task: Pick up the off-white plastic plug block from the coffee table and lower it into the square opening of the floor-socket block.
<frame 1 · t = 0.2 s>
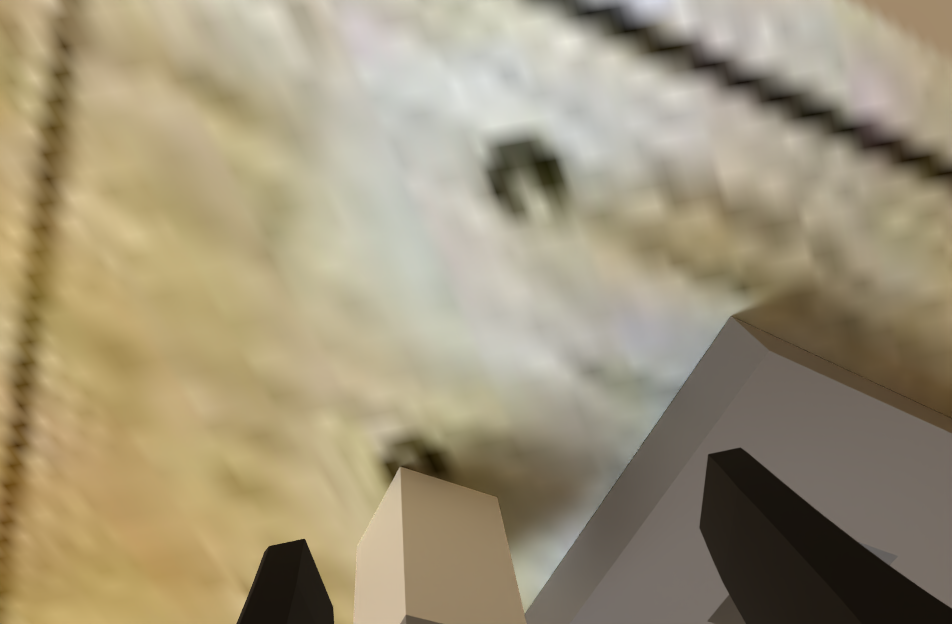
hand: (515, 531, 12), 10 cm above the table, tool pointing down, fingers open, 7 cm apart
plug: (427, 521, 25), on the table
socket block: (768, 541, 28), on the table
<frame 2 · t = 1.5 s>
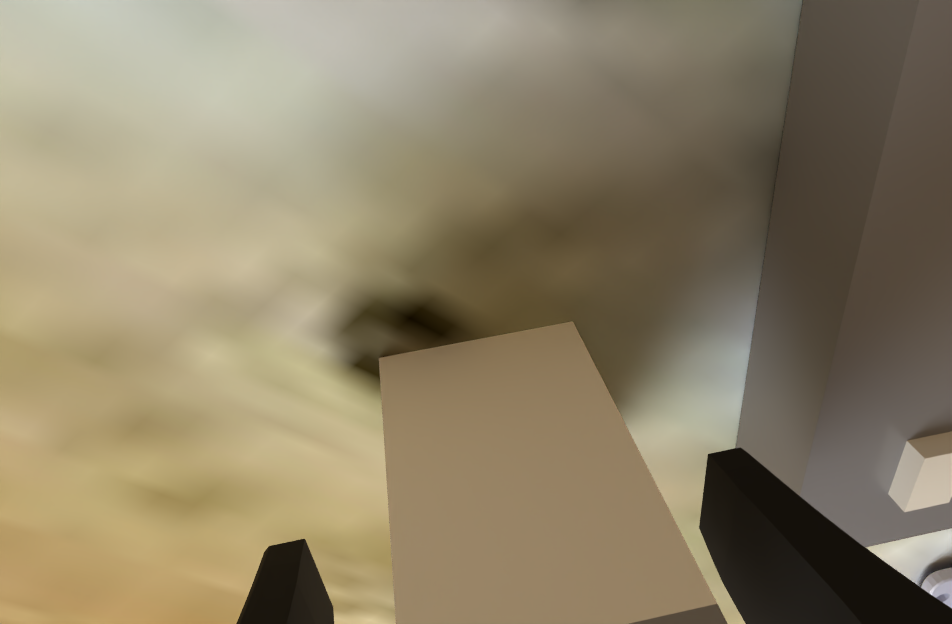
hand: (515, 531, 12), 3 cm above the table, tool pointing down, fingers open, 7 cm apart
plug: (487, 412, 14), on the table
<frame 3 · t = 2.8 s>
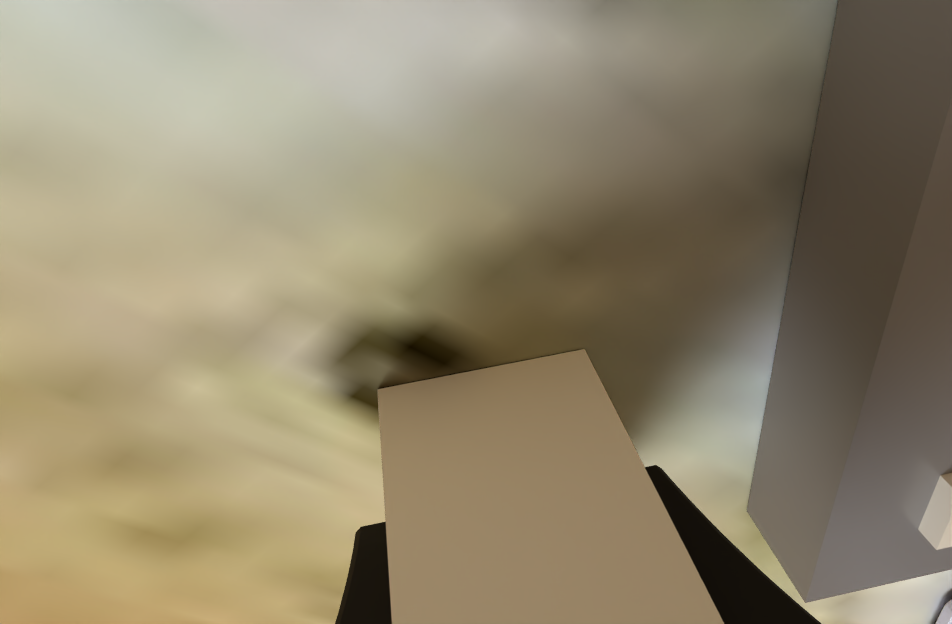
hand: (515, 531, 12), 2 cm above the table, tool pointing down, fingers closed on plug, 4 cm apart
plug: (492, 443, 14), on the table, touching gripper
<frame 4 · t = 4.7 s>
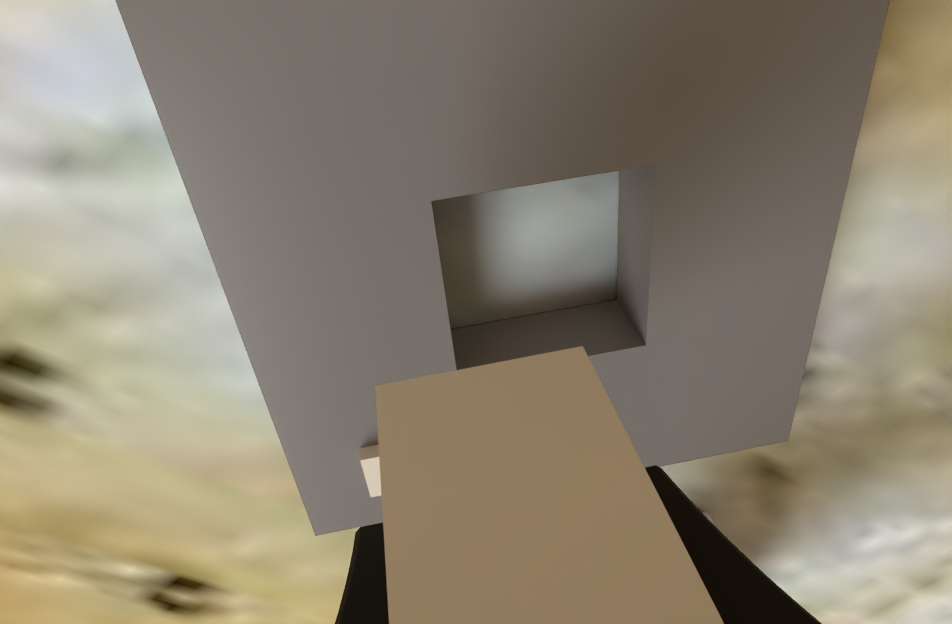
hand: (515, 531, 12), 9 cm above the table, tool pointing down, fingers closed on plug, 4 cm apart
plug: (490, 441, 14), point 7 cm above the table, touching gripper
socket block: (527, 237, 19), on the table
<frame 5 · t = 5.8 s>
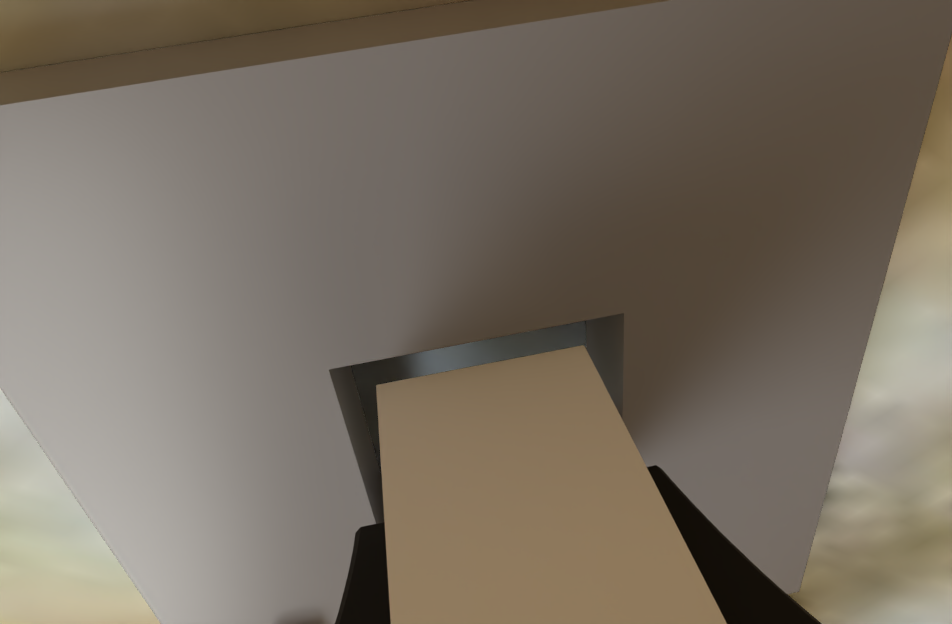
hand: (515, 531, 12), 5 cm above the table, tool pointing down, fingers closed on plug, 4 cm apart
plug: (491, 440, 14), point 2 cm above the table, touching gripper
socket block: (474, 372, 16), on the table
when the fingers open (4 cm above the table, at t = 6.8 s): plug drops 2 cm, resting in socket block.
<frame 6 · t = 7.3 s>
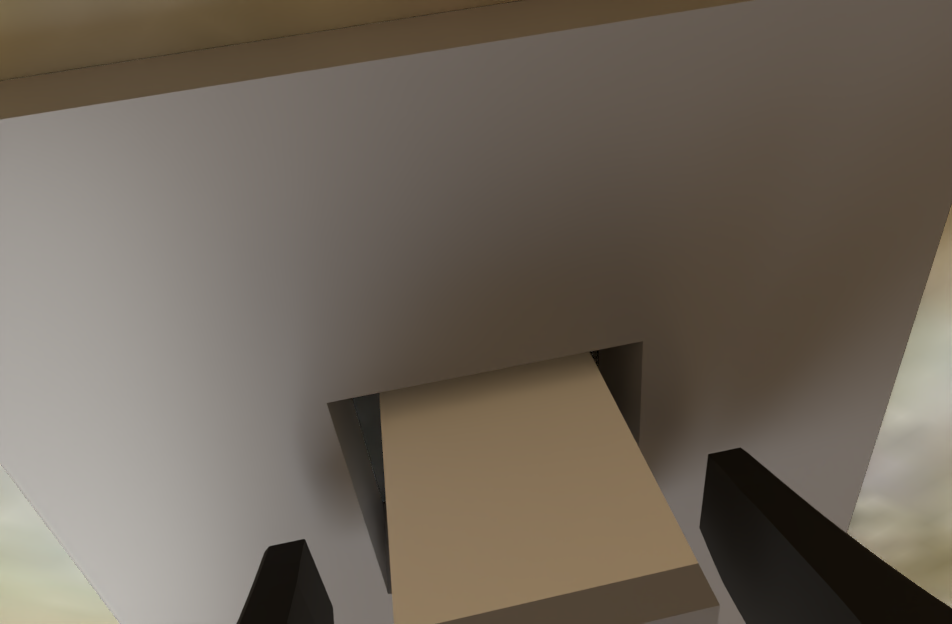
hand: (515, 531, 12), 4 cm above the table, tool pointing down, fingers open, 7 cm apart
plug: (482, 393, 15), resting in socket block
socket block: (480, 397, 15), on the table
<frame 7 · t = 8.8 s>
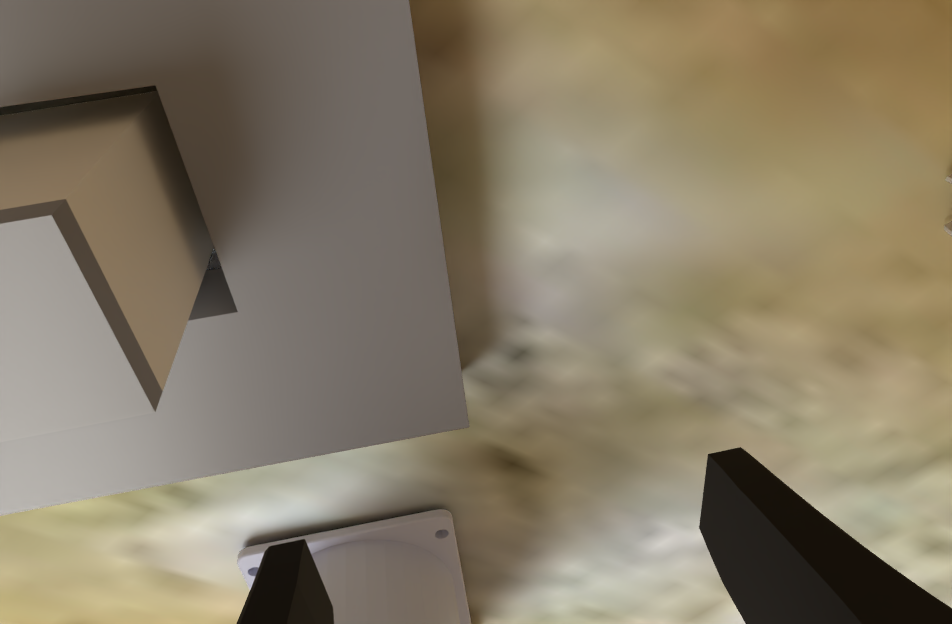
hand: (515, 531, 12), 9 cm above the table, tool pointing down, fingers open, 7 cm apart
plug: (109, 183, 17), resting in socket block
socket block: (107, 186, 17), on the table
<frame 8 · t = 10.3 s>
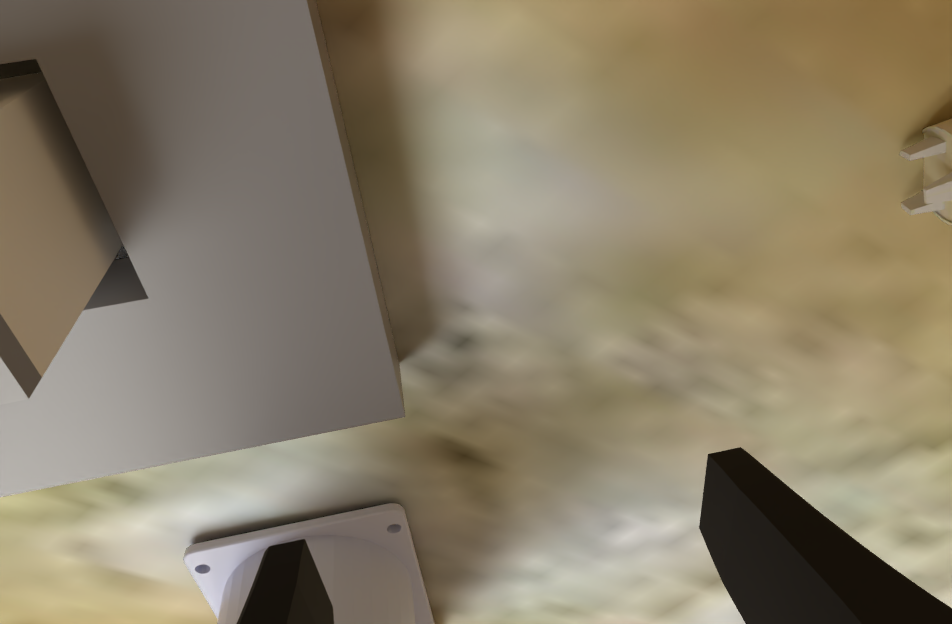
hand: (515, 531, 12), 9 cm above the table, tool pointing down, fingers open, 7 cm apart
plug: (16, 167, 16), resting in socket block
socket block: (14, 170, 16), on the table
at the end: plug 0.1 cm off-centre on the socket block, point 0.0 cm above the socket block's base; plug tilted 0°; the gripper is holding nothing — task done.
